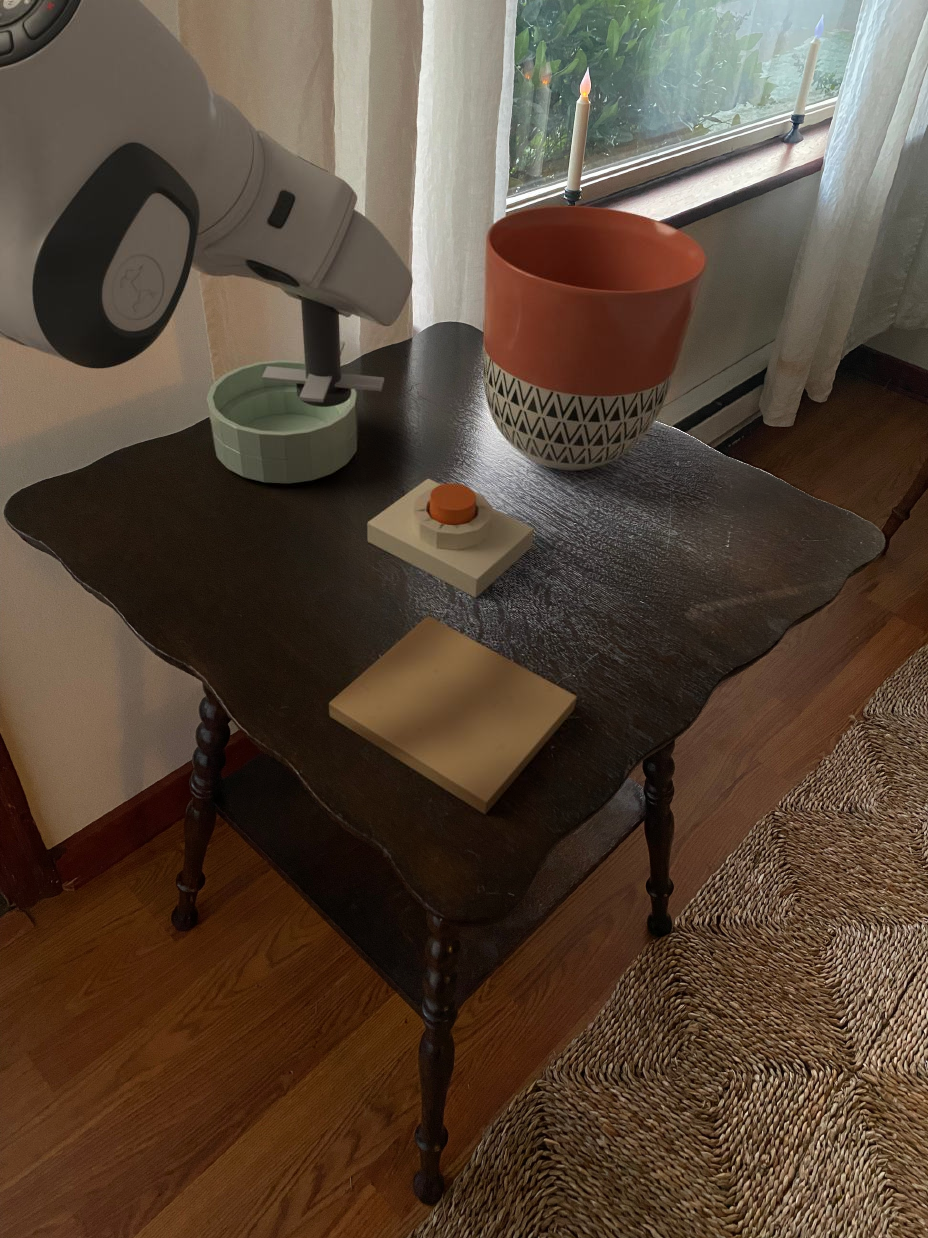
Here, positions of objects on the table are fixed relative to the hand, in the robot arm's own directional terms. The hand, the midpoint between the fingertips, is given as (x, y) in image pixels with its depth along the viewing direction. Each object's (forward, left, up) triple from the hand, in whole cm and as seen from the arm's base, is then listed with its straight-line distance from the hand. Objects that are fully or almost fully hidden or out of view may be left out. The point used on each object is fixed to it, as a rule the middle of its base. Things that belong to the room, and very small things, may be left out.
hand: (325, 298), depth 68 cm
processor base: (+10, +4, -21) cm, 24 cm away
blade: (0, -1, -8) cm, 8 cm away
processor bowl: (-12, +6, -21) cm, 25 cm away
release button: (+10, +4, -18) cm, 21 cm away
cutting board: (+22, -12, -21) cm, 33 cm away
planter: (+10, +24, -21) cm, 34 cm away
